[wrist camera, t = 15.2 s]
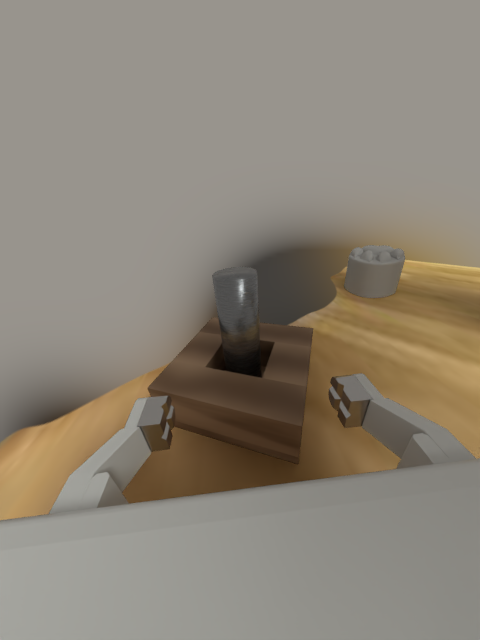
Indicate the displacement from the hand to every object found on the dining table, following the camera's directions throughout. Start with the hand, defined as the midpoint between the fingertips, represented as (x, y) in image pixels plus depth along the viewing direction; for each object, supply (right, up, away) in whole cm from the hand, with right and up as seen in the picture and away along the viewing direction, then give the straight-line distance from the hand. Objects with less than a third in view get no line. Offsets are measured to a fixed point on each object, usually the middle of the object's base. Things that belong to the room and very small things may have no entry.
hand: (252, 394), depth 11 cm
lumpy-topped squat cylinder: (+29, +11, +39) cm, 50 cm away
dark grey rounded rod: (0, -3, +15) cm, 15 cm away
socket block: (0, -4, +15) cm, 16 cm away
